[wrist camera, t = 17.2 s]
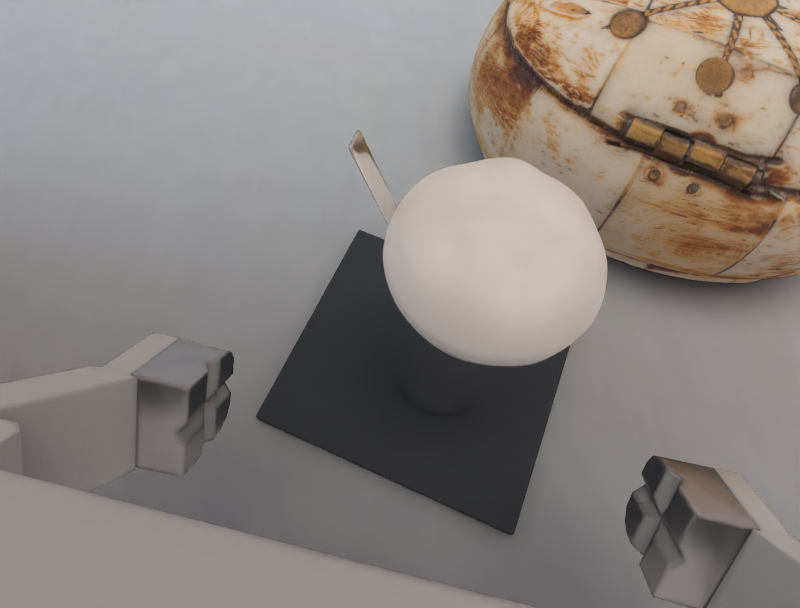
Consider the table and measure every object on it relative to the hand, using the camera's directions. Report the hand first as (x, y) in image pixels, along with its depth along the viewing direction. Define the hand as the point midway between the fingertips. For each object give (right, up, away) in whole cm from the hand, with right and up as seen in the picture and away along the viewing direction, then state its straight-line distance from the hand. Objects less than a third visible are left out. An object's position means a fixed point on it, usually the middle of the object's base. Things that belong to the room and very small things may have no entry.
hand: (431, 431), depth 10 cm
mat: (0, 0, +8) cm, 8 cm away
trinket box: (+10, +8, +13) cm, 18 cm away
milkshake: (0, 0, +8) cm, 8 cm away
